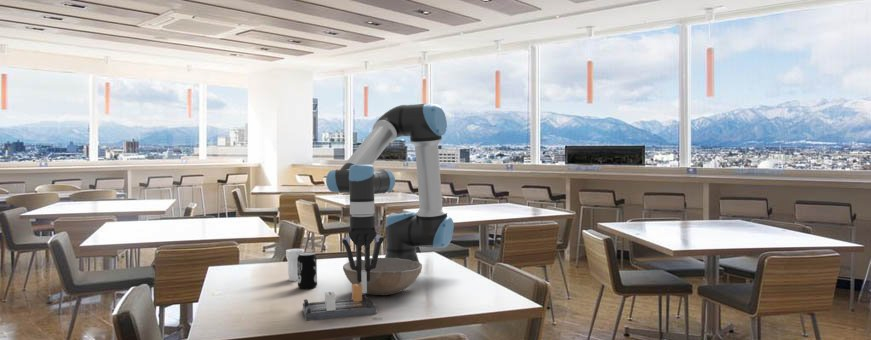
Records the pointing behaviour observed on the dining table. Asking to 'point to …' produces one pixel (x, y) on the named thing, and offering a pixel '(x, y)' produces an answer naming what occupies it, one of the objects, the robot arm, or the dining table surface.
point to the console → (339, 309)
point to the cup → (293, 263)
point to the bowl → (387, 275)
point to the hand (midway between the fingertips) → (363, 292)
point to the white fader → (330, 301)
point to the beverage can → (307, 270)
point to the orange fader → (356, 292)
